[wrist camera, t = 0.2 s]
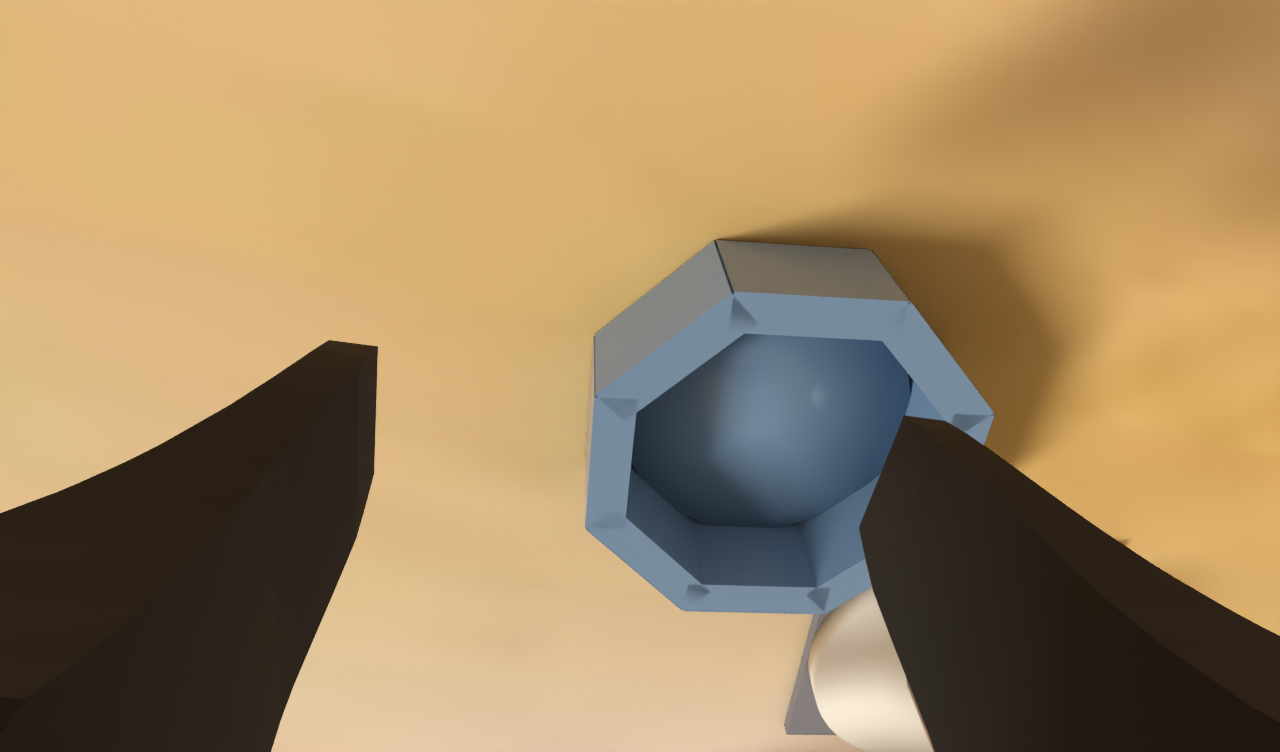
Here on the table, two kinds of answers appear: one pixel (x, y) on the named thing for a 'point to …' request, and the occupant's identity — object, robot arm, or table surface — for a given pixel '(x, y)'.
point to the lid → (864, 681)
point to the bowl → (759, 423)
